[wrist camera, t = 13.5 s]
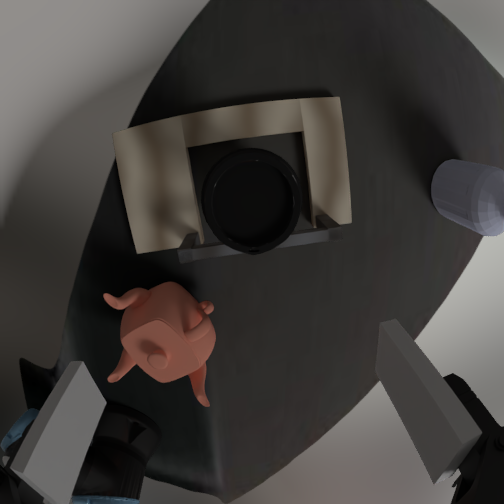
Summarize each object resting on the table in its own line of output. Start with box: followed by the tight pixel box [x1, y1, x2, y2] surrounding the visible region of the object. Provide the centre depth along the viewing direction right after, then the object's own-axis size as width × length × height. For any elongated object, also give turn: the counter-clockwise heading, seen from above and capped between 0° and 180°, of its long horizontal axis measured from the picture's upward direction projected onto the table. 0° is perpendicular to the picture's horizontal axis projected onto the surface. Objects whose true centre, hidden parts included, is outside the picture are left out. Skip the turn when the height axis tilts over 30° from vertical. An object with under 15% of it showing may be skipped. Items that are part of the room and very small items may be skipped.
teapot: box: [103, 282, 216, 407], centre depth 37 cm, size 14×14×11 cm
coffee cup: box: [201, 148, 302, 255], centre depth 29 cm, size 8×8×15 cm
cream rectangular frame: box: [112, 97, 352, 263], centre depth 32 cm, size 28×16×8 cm, turn 98°
